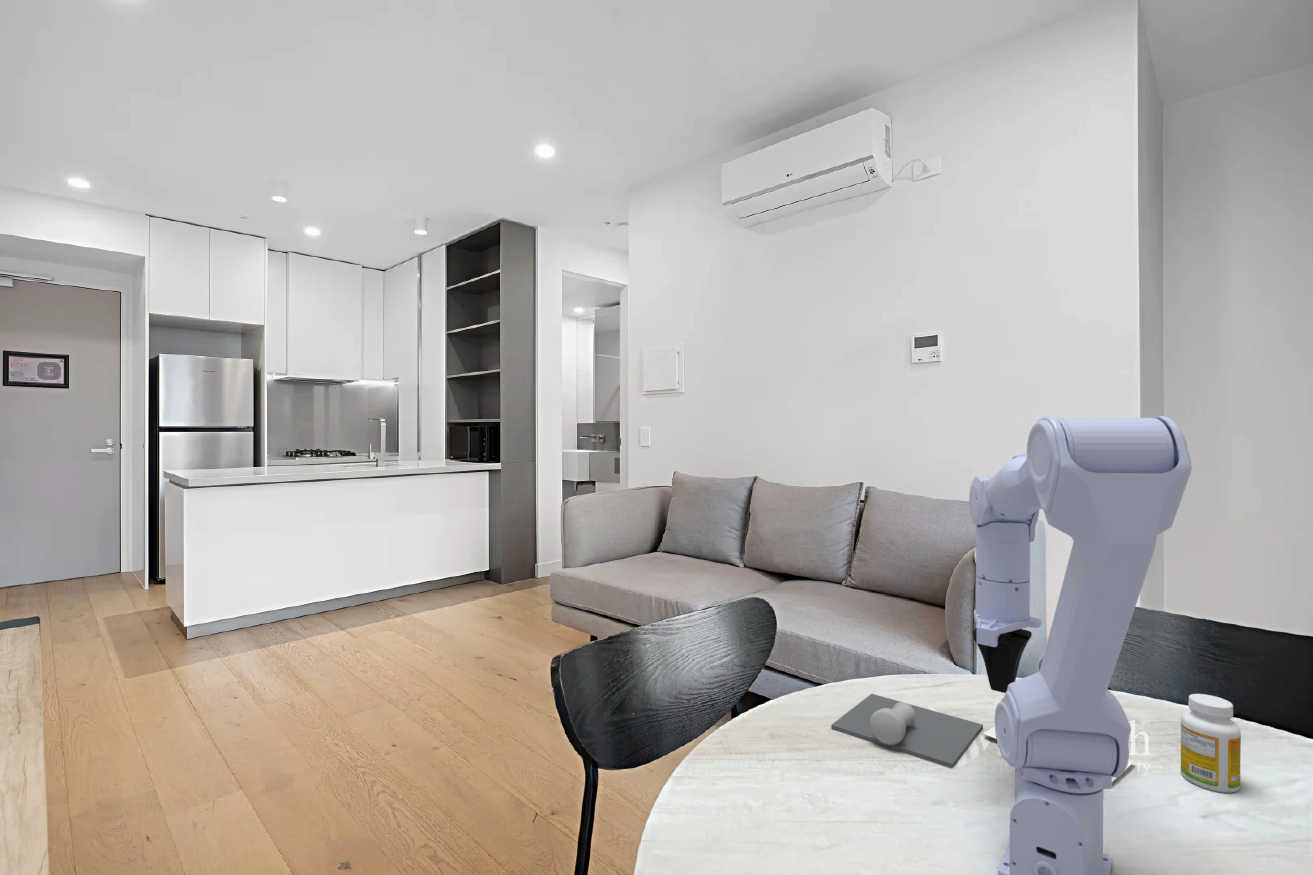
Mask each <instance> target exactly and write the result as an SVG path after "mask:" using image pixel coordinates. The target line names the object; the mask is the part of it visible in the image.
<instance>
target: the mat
mask: <svg viewBox="0 0 1313 875" xmlns="http://www.w3.org/2000/svg"><path fill="white" fill-rule="evenodd" d="M899 702H901V701H900V700H895V699H892V698H888V697H885V696H881V695H878V694H874V693H871V694H869V695H867V697H865V698H864V699H863V700H861V701H860V702H859V703H857V704H856V705H854V707H853V708H851V709H850V710H849V711H847V712H846V713H845V714H843V715H842V716H841V717H839V718H838V719H837V720H835V721H834V722H833V723H832V724H831V726H830V727H831V728H830V729H832V730H834V731H837V732H840V733H844V734H847V735H850V736H853V737H855V738H856V737H857V738H859V739H862V740H866V741H868V742H871V743H874V744H877V745H880V746H884V747H887V748H890V749H893V750H896V751H899V752H902V753H905V754H908V755H911V756H914V757H917V758H920V759H923V760H926V761H929V762H932V763H936V764H938V765H942V766H944V767H947V768H951V769H953V768H954V767H955V765H956V764H957V762H959V760H960V759H961V757H963V755H964V754H965V753H966V751H967V750H968V748H969V747H970V745H971V744H972V743H973V742H974V741H975V739H976V738H977V737H978V735H979V734H980V733H981V731H982V730H983V729H984V724H982V723H979V722H975V721H971V720H968V719H964V718H960V717H958V716H954V715H949V714H946V713H942V712H939V711H936V710H932V709H928V708H925V707H921V706H918V705H914V704H910V703H908V704H909V705H910V706H912V708H913V710H915V713H916V721H915V723H914V724H913V725H912V726H910V727H906V733H905V735H904V737H903V739H902V740H901V741H900V742H899V743H897V744H896V745H887V744H884V743H882V742H881V741H879V740H878V739H877V738H876V737H875V735H874V734H873V732H872V729H871V726H870V721H871V717H872V715H873V713H874V712H876V711H877V710H880V709H883V708H889V709H893V707H894V705H895V704H897V703H899Z"/></svg>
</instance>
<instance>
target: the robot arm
mask: <svg viewBox="0 0 1313 875" xmlns="http://www.w3.org/2000/svg"><path fill="white" fill-rule="evenodd" d="M1026 442H1027V444H1026V453H1024V454H1023V453H1022V454H1020V453H1017V454H1014V455H1013V456H1012V458H1011V460H1009V461H1008V462H1007V463H1006V464H1005V465H1003V466H1002V468H1001V469H999V470H998V471H997V472H996V473H995V474H994V475H993V476H992V477H991V478H989V477H988V478H987V477H983V476H974V478H973V479H972V481H971V484H970V487H969V496H968V497H969V499H968V500H969V501H968V502H969V503H968V504H969V512H970V517H971V521H972V523H973V524H974V525H975V528H976V529H975V530H976V532H975V533H976V534H975V536H976V538H975V609H974V610H973V619H974V621H975V624H976V627H975V628H974V629H973V630H972V638H973V640H974V642H975V644H976V646H977V647H978V649H979V651H980V654H981V655H982V659H983V662H984V666H985V670H986V676H987V679H988V680H987V681H988V683H989V687H990V690H992V691H994V692H998V693H1003V694H1004V696H1003V697H1002V698H1001V699H1000V701H999V702H998V703H997V705H996V707H995V710H994V711H995V712H994V726H995V732H996V738H997V739H996V742H997V746H998V749H999V750H998V751H999V752H1000V754H1001V756H1002V758H1003V759H1004V761H1006V763H1007V764H1008V765H1009V766H1010V767H1011V768H1012V769H1014V802H1013V805H1012V807H1011V810H1010V814H1009V843H1008V846H1007V848H1006V850H1005V853H1004V855H1003V857H1002V859H1001V860H1000V863H999V865H998V867H997V874H998V875H1111V870H1112V866H1113V858H1112V856H1110V855H1109V854H1107V853H1104V790H1107V789H1108V790H1111V789H1112V788H1113V782H1112V777H1114V778H1116V779H1117V778H1120V777H1121V776H1122V775H1123V773H1124V772H1125V771H1126V770H1127V769H1126V767H1127V765H1128V760H1129V759H1130V749H1129V748H1130V747H1129V740H1130V734H1131V731H1132V728H1131V725H1130V721H1129V719H1128V717H1127V715H1126V712H1125V710H1124V708H1123V706H1122V704H1121V703H1120V701H1119V700H1118V698H1117V697H1116V696H1115V695H1114V694H1113V693H1112V691H1111V690H1109V689H1108V688H1109V686H1110V684H1111V683H1110V682H1111V680H1112V677H1113V673H1114V672H1115V668H1116V665H1117V662H1118V658H1119V656H1120V653H1121V650H1122V647H1123V644H1124V641H1125V638H1126V635H1127V632H1128V629H1129V626H1130V623H1131V621H1132V617H1133V615H1134V612H1135V608H1136V605H1137V603H1138V600H1139V597H1140V595H1141V594H1140V593H1141V591H1142V587H1143V585H1144V582H1145V579H1146V576H1147V574H1148V570H1149V567H1150V564H1151V561H1152V558H1153V555H1154V552H1155V548H1156V544H1157V539H1158V536H1159V535H1161V534H1163V532H1166V531H1167V530H1169V529H1171V528H1172V526H1173V524H1174V523H1175V522H1174V521H1175V519H1176V515H1177V512H1178V511H1179V507H1180V504H1181V501H1182V498H1183V496H1184V493H1185V489H1186V487H1187V484H1188V482H1189V478H1190V476H1191V472H1192V471H1193V470H1192V469H1193V466H1192V460H1191V456H1190V453H1189V448H1188V445H1187V444H1188V443H1187V439H1186V437H1185V435H1184V433H1183V431H1182V429H1180V427H1179V425H1178V424H1177V423H1176V422H1175V421H1174V420H1173V419H1172V418H1170V417H1168V416H1164V415H1152V416H1150V417H1076V418H1075V417H1068V418H1067V417H1062V418H1061V417H1060V418H1058V417H1055V416H1042V417H1040V418H1039V419H1038V420H1037V421H1036V423H1035V424H1034V425H1033V426H1032V427H1031V429H1030V431H1029V433H1028V438H1027V441H1026ZM1041 509H1042V511H1043V513H1044V516H1045V519H1046V522H1047V524H1048V525H1049V526H1051V527H1053V528H1054V529H1056V530H1058V531H1060V532H1062V533H1063V534H1066V535H1067V536H1069V537H1070V538H1071V539H1072V541H1073V543H1072V547H1071V549H1070V553H1069V558H1068V561H1067V565H1066V570H1065V573H1064V578H1063V581H1062V584H1061V587H1060V591H1059V595H1058V598H1057V599H1058V600H1057V604H1056V608H1055V612H1054V615H1053V619H1052V621H1051V626H1050V629H1049V630H1050V631H1049V632H1048V633H1049V634H1048V638H1047V642H1046V646H1045V649H1044V652H1043V653H1044V654H1043V656H1042V661H1041V664H1040V668H1039V671H1037V672H1035V673H1033V674H1030V675H1028V676H1025V677H1023V678H1020V679H1018V680H1016V679H1017V675H1018V671H1019V670H1018V669H1019V666H1020V662H1021V659H1022V656H1023V653H1024V651H1025V648H1026V647H1027V645H1028V643H1029V641H1030V639H1031V638H1032V634H1033V633H1032V632H1031V631H1030V630H1028V629H1025V628H1034V629H1037V628H1040V627H1041V626H1042V619H1041V618H1038V617H1033V616H1032V615H1030V612H1031V611H1030V610H1031V609H1030V608H1031V602H1030V600H1031V597H1030V596H1031V543H1032V542H1034V541H1035V538H1036V526H1037V522H1038V521H1039V515H1040V510H1041ZM1125 769H1126V770H1125ZM1124 770H1125V771H1124Z"/></svg>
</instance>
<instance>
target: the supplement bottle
mask: <svg viewBox="0 0 1313 875" xmlns="http://www.w3.org/2000/svg"><path fill="white" fill-rule="evenodd" d="M1187 706H1188V709H1189V710H1188V711H1185V712H1184V713H1182V715H1181V716H1180V774H1181V775H1182V777H1183V778H1184V779H1186V780H1187V781H1188V782H1190V783H1192V784H1193V785H1195V786H1198V787H1200V788H1202V789H1205V790H1209V791H1212V792H1218V793H1229V794H1230V793H1236V792H1237V791H1239V790H1240V788H1241V747H1242V746H1241V745H1242V744H1241V742H1242V740H1241V739H1242V735H1241V733H1242V732H1241V728H1240V727H1239V725H1238V724H1237V723H1236V722H1235V721H1234V720H1232V719H1233V717H1234V704H1233V703H1232V702H1230V701H1229V700H1227V699H1224V698H1221V697H1219V696H1216V695H1210V694H1205V693H1193V694H1189V695H1188V705H1187Z"/></svg>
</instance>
